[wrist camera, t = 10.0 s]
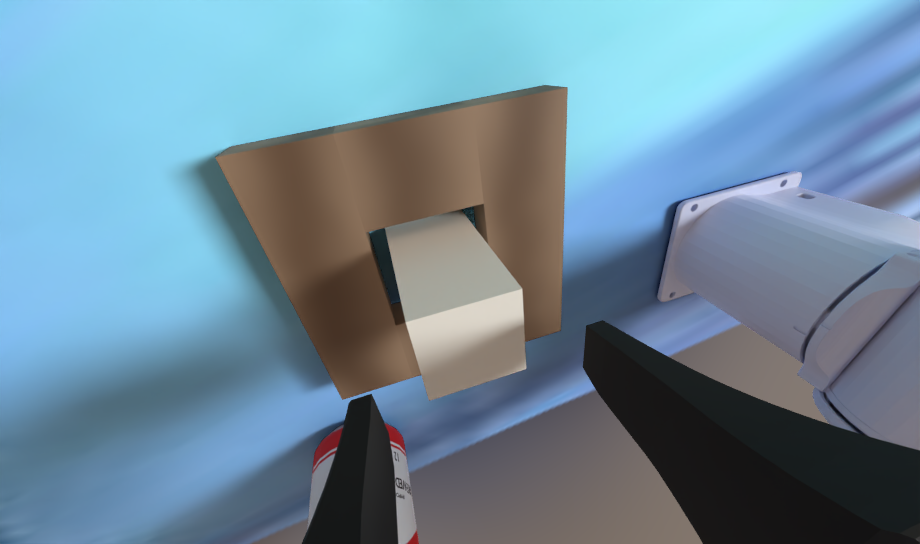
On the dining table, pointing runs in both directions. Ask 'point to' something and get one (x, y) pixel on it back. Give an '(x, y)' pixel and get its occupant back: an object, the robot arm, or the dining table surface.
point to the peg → (457, 303)
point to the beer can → (402, 482)
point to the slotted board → (405, 215)
